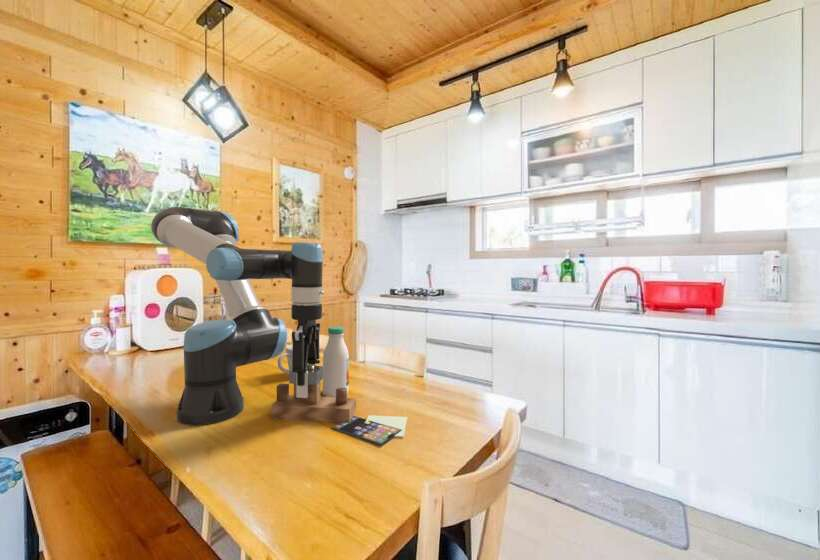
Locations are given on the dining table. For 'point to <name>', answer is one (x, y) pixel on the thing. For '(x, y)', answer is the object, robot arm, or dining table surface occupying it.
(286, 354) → the mug
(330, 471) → the dining table surface
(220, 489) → the dining table surface
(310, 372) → the lever cap
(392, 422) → the thin cream card
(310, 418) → the wooden peg board
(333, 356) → the milk bottle
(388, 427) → the smartphone
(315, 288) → the robot arm
